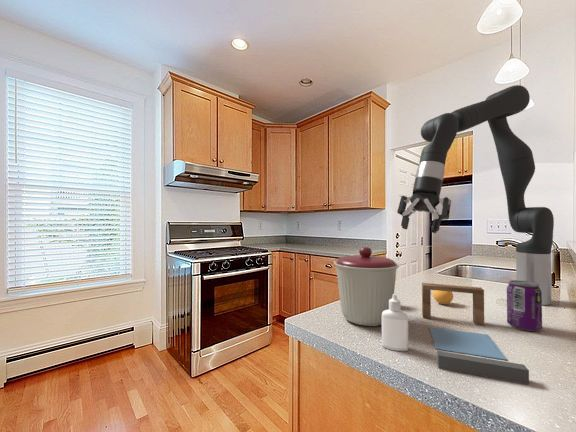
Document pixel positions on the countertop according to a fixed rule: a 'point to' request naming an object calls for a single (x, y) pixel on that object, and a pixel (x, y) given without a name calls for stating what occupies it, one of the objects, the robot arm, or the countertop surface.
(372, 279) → the canister
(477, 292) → the bridge
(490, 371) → the stopper wall
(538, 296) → the beverage can
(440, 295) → the ball
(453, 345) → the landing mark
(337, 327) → the countertop surface
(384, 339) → the eye dropper bottle
